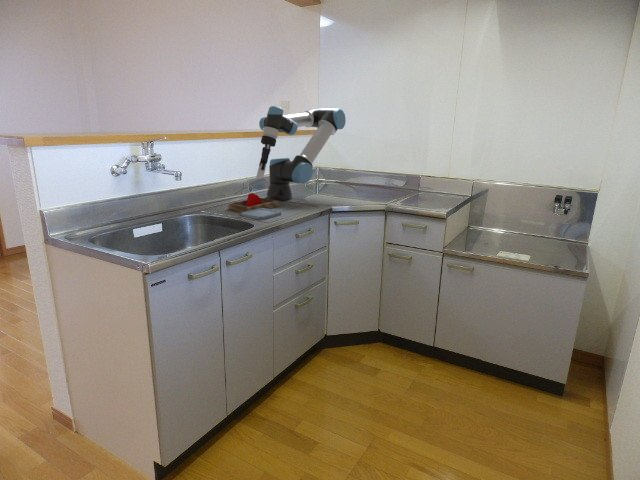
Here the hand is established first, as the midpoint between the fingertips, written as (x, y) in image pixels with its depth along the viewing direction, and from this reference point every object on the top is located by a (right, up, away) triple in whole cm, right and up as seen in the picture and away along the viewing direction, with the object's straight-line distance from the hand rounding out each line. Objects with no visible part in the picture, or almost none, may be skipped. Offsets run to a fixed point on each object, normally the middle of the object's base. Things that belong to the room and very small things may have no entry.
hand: (259, 177), depth 214 cm
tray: (+2, -20, -10) cm, 22 cm away
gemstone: (-4, -16, +5) cm, 17 cm away
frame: (-4, -15, +6) cm, 16 cm away
